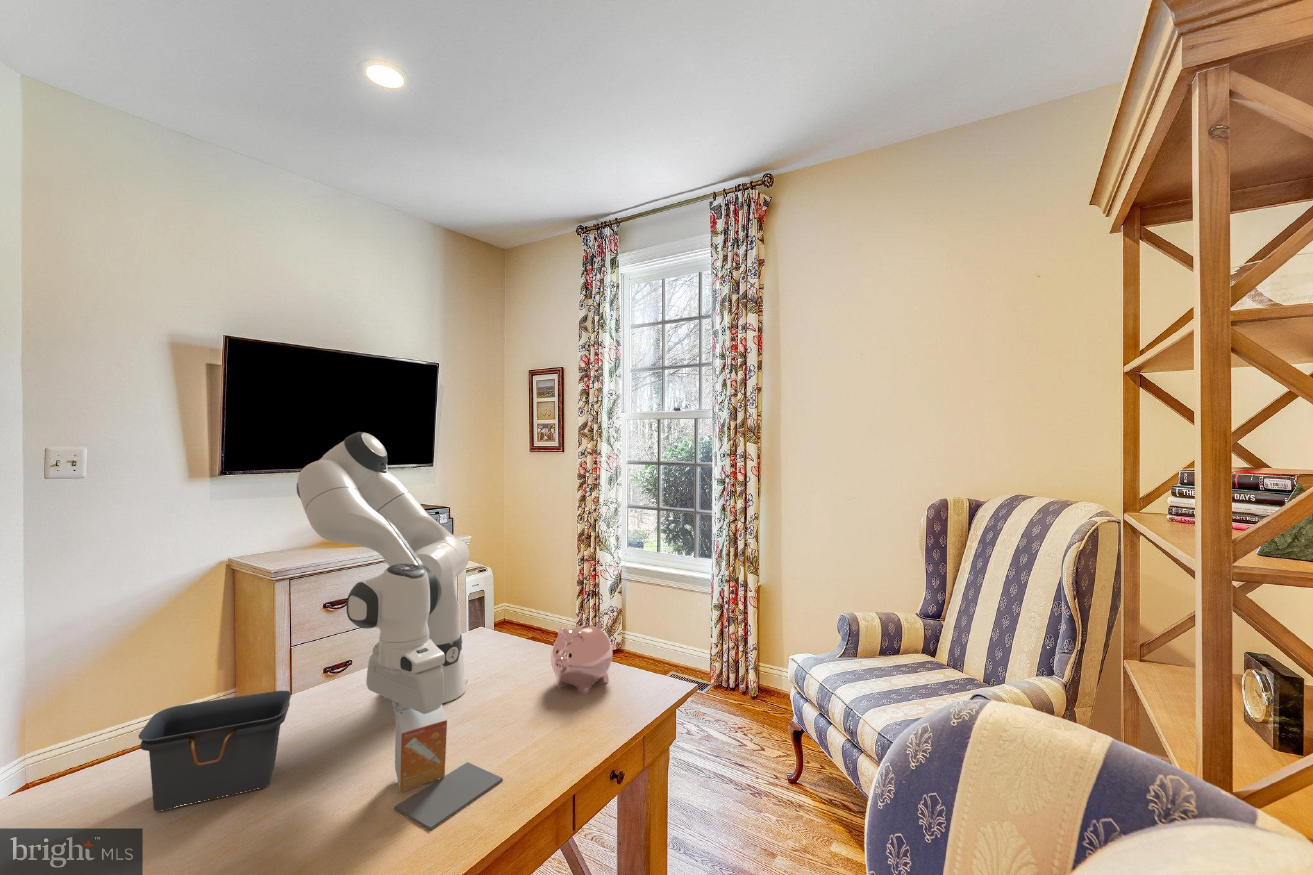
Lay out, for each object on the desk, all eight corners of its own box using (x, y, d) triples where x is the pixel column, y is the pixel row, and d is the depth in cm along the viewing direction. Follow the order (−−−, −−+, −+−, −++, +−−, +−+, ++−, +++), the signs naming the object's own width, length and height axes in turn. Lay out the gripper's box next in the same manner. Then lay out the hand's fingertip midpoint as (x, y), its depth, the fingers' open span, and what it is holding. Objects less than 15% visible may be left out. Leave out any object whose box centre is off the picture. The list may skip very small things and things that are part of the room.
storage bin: (291, 755, 113) (293, 685, 113) (282, 798, 100) (284, 719, 100) (156, 784, 103) (158, 708, 103) (125, 837, 89) (127, 749, 90)
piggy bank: (535, 690, 144) (536, 629, 144) (579, 666, 159) (580, 611, 160) (581, 705, 136) (582, 640, 136) (623, 679, 151) (623, 621, 152)
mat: (394, 809, 97) (394, 806, 97) (467, 764, 111) (467, 761, 111) (430, 830, 92) (430, 827, 92) (502, 780, 105) (502, 777, 105)
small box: (399, 793, 101) (400, 733, 98) (394, 768, 106) (395, 710, 103) (445, 777, 105) (447, 719, 103) (438, 754, 111) (440, 698, 108)
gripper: (358, 644, 109) (356, 715, 108) (420, 666, 98) (418, 746, 97) (389, 636, 114) (387, 703, 114) (451, 656, 103) (448, 731, 102)
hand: (401, 723), depth 105 cm, fingers closed, pressing on small box
